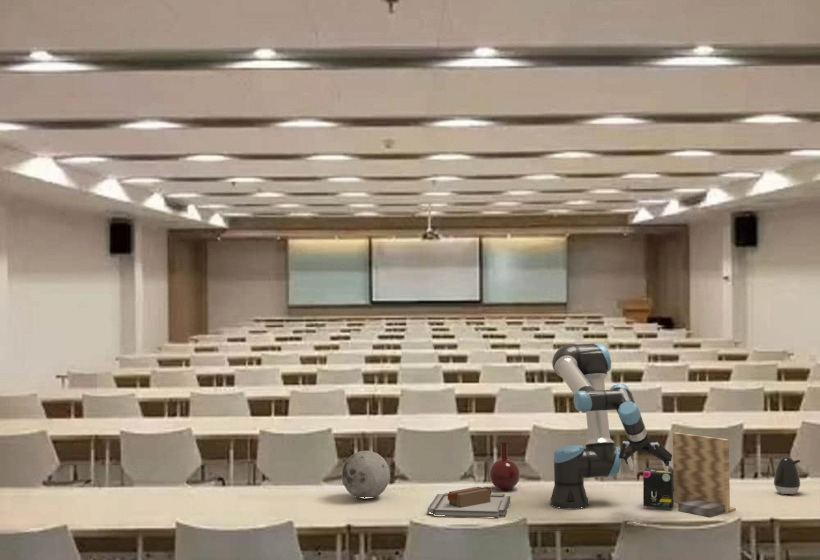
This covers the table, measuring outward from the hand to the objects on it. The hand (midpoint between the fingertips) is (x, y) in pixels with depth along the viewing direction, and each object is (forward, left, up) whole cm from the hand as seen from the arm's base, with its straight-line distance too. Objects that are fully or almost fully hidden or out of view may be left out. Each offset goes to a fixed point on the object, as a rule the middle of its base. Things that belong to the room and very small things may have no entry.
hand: (649, 468), depth 389 cm
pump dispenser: (+21, +65, -17) cm, 70 cm away
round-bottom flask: (-67, -11, -17) cm, 70 cm away
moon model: (-96, -64, -17) cm, 117 cm away
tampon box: (-2, +9, -17) cm, 19 cm away
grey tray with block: (-53, -45, -17) cm, 72 cm away
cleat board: (+10, +17, -17) cm, 25 cm away
